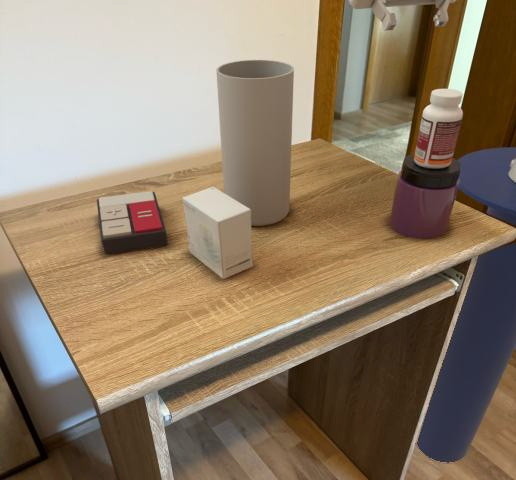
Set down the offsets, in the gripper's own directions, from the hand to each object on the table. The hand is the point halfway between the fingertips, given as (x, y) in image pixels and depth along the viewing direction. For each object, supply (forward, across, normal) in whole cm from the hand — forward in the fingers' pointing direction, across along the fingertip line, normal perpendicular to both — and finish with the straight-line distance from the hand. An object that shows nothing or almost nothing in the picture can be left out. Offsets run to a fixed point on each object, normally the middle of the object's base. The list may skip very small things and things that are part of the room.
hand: (416, 25), depth 80 cm
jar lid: (+22, 0, +4) cm, 22 cm away
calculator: (+20, -52, +22) cm, 59 cm away
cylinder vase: (+20, -27, +22) cm, 40 cm away
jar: (+30, 0, +12) cm, 32 cm away
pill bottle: (+22, 0, +4) cm, 22 cm away
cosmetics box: (+31, -38, +11) cm, 50 cm away
